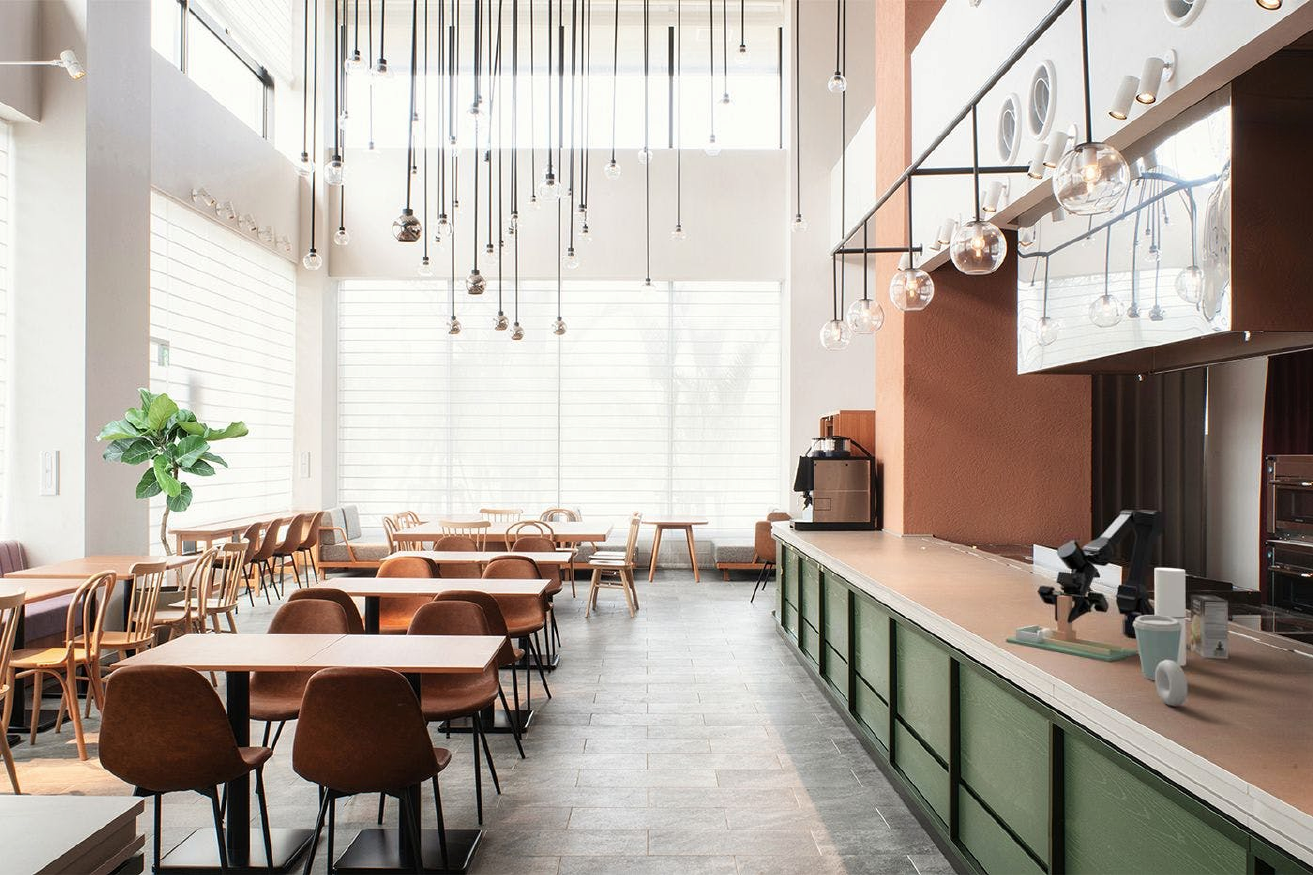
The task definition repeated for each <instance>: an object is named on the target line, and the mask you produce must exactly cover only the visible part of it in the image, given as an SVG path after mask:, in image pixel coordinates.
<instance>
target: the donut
mask: <svg viewBox="0 0 1313 875" xmlns="http://www.w3.org/2000/svg"><path fill="white" fill-rule="evenodd" d="M1154 682H1155V687H1156V691H1157V694H1158V695H1159V698H1160V699H1161V700H1162V701H1163V702H1164V703H1165V704H1167V705H1168V706H1172V707H1178V706H1181V705H1182V704H1184V702H1185V701H1186V699H1187V696H1188V680H1187V677H1186V675H1185V672H1184V670H1183V669H1182V667H1181V666H1179V665H1178V664H1177V663H1176V662H1174V661H1171V660H1164V661H1162V662H1160V663H1159V664H1158V666H1157V668H1156V672H1155V680H1154Z"/></svg>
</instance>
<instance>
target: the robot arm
mask: <svg viewBox="0 0 1313 875" xmlns="http://www.w3.org/2000/svg"><path fill="white" fill-rule="evenodd" d="M1166 521H1167V520H1166V517H1165V516H1164V514H1163V512H1162V511H1159V510H1147V509H1140V510H1133V509H1132V510H1129V509H1124V510H1121V511H1120V512H1119V515H1118V516H1117V518H1116V519H1115V520H1114V521H1113V522H1112V524H1110V525H1109V526H1108V528H1107V529H1106V530H1105V531H1104V532H1103V533H1102V534H1101V535H1100V537H1098V538H1095V539H1093V540H1091V541H1088V543H1087V544H1085V545H1084V546H1083V547H1080V545H1079V543H1078V542H1077V541H1075V540H1069V542H1067V543H1064V544H1062V545H1061V546H1060V547H1057V550H1056V555H1057V556H1058V557H1059V559H1060V560H1061V561H1062V562H1063V564H1064V565H1065V566H1066V567H1067V568H1068V569H1069V570H1073V571H1072V572H1066V571H1065V572H1064V571H1058V572H1057V573H1058V574H1057V578H1056V581H1055V582H1056V584H1059V585H1060V590H1061V591H1060V590H1056V589H1055V587H1054V586H1050V585H1048V586H1047V585H1040V587H1038V590H1037V593H1038V595H1039V597H1040V599H1041V600H1042V602H1043V603H1044V604H1046V605H1052V606H1054V620H1055V621H1056V622H1057V596H1060V595H1063V596H1070V597H1072V603H1074V604H1073V605H1072V610H1071V612H1070V615H1069V617H1068V620H1067V621H1068V623H1071V622H1072V623H1073V622H1074V621H1076V620H1077V619H1078V618H1080V617H1081V616H1084V615H1086V614H1087V613H1091V612H1092V611H1093V610H1092V607H1093V609H1094V610H1095V612H1097V613H1098V612H1100V613H1107V612H1108V609H1109V605H1110V604H1109V602H1108V601H1107V599H1106V597H1105V595H1104V594H1103V593H1101V592H1093V591H1092V588H1091V584H1092V582H1093V581H1094V579H1096V578H1097V579H1098V578H1100V577H1101V574H1100V572H1099V570H1098V569H1099V568H1096V567H1095V566H1101V567H1107V565H1109V563H1110V561H1111V560H1112V559H1113V557H1114V555H1115V548H1116V547H1117V546H1118V545H1119V543H1120V542H1121V541H1122V540H1123V539H1124V538H1125V536H1126V535H1127V534H1128V533H1129V532H1130V531H1132V529H1133V531H1134V533H1135V536H1136V537H1135V542H1134V547H1133V551H1132V557H1131V561H1130V566H1129V571H1128V576H1127V579H1126V581H1125V583H1123V584H1119V585H1118V586H1117V592H1116V594H1115V598H1116V601H1115V602H1116V606H1117V608H1118V612H1119V615H1124V618H1123V619H1122V634H1123V635H1125V636H1126V637H1128V638H1136V634H1135V629H1134V626H1133V622H1134V621H1135V618H1137V617H1138V616H1144V615H1155V607H1153V606H1152V604H1151V603H1150V594H1149V591H1148V589H1147V586H1146V583H1147V578H1148V576H1149V570H1150V563H1151V560H1152V555H1153V550H1154V545H1155V541H1156V540H1157V539H1158V538H1159V536H1160V535H1162V534H1163V532H1164V529H1165V527H1166V526H1165V525H1166ZM1062 591H1063V592H1062Z"/></svg>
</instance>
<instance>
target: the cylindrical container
mask: <svg viewBox="0 0 1313 875" xmlns="http://www.w3.org/2000/svg"><path fill="white" fill-rule="evenodd" d="M1153 575H1154V583H1153V584H1154V610H1155V615H1159V616H1168V617H1171V618H1175V619H1177V620H1178V621H1179V624H1180V625H1182V630H1181V635H1180V643H1179V650H1178V658H1177V664H1178V665H1179V666H1180V667H1181V666H1182V667H1184V666H1187V648H1186V644H1187V642H1186V641H1187V640H1186V636H1187V632H1186V629H1187V628H1186V627H1187V626H1186V625H1187V624H1186V623H1187V622H1186V621H1187V620H1186V608H1187V607H1186V570H1185V569H1181V568H1175V567H1174V568H1173V567H1155V568H1154V574H1153Z"/></svg>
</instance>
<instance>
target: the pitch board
mask: <svg viewBox="0 0 1313 875" xmlns="http://www.w3.org/2000/svg"><path fill="white" fill-rule="evenodd" d="M1005 641H1006V643H1011V644H1016V645H1021V646H1024V647H1025V646H1027V647H1032V648H1037V649H1042V650H1045V651H1046V650H1047V651H1052V652H1056V653H1062V654H1066V653H1067V655H1072V656H1077V655H1078V656H1077V657H1082V656H1083V658H1088V659H1092V660H1098V661H1103V662H1108V663H1110V662H1113V661H1116V660H1120V659H1124V658H1127V656H1128V657H1130V656H1134V654H1135V655H1137V653H1138V651H1137V650H1133V649H1129V648H1124V646H1123V645H1120V644H1113V643H1106V642H1102V641H1097V640H1091V639H1085V638H1079V637H1076V643H1071V642H1066V641H1060V640H1055V639H1054V638H1052V639H1049V638H1044V637H1043V644H1038V643H1034V642H1029V641H1023V640H1018V639H1016V636H1014V637H1010V638H1006V639H1005Z"/></svg>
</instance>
